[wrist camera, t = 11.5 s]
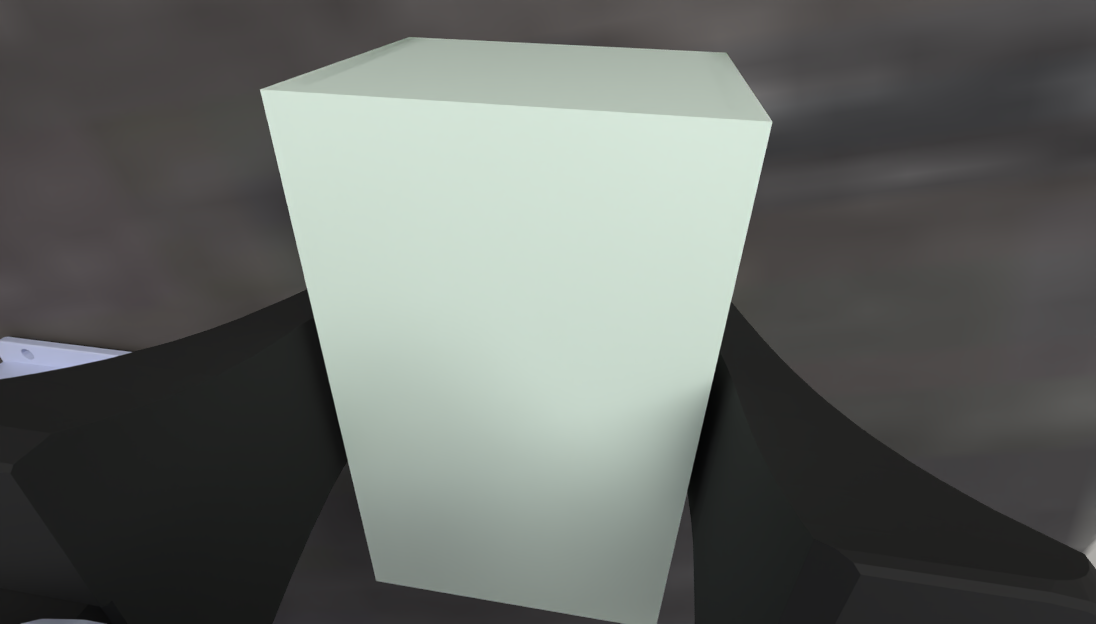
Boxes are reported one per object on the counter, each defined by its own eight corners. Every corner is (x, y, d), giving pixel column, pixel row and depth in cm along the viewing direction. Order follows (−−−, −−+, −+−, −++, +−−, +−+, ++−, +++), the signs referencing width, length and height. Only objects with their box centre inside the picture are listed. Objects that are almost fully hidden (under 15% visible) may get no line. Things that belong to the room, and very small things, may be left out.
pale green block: (446, 422, 16) (376, 580, 12) (409, 37, 11) (260, 89, 7) (655, 451, 15) (655, 629, 11) (726, 52, 10) (772, 122, 6)
